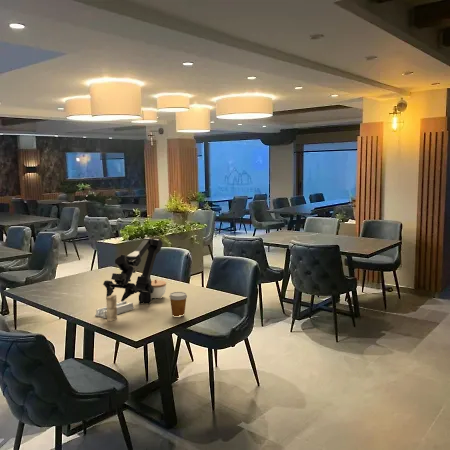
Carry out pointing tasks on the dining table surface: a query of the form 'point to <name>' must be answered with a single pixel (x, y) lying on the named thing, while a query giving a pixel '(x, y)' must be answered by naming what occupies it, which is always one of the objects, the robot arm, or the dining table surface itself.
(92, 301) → the dining table surface
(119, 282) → the robot arm
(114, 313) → the beige tall block
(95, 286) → the dining table surface
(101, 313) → the door track
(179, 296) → the disposable coffee cup
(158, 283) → the lidded bowl
